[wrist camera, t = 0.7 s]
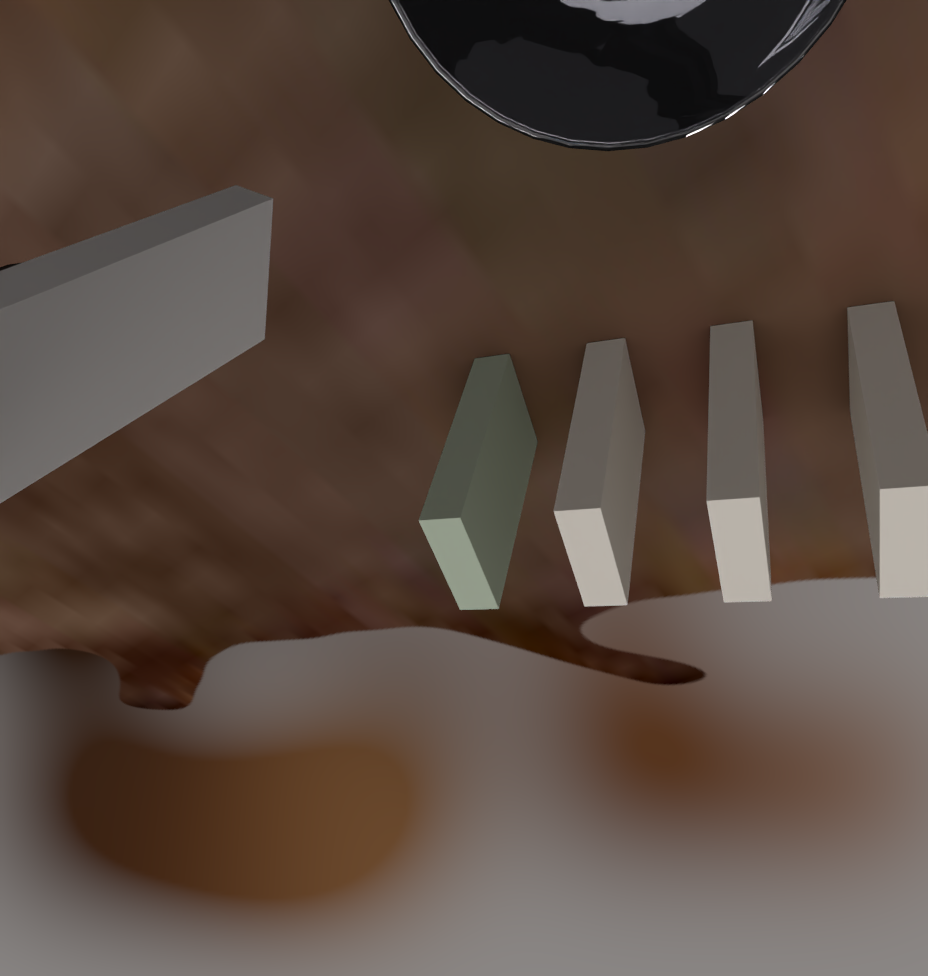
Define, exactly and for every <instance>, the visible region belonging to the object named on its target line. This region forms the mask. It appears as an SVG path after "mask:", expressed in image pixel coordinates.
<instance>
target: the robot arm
mask: <svg viewBox="0 0 928 976" xmlns="http://www.w3.org/2000/svg"><path fill="white" fill-rule="evenodd" d="M272 210H273V198H270V197H268V196H265V195H262V194H259V193H256V192H254V191H251V190H248V189H245V188H242V187H240V186H237V185H235V186H233V187H230V188H227V189H224V190H222V191H219V192H216V193H213V194H210V195H208V196H205V197H202V198H199V199H197V200H194V201H191V202H188V203H186V204H183V205H180V206H177V207H175V208H172V209H169V210H166V211H164V212H161V213H158V214H155V215H153V216H150V217H147V218H144V219H142V220H139V221H136V222H133V223H131V224H128V225H125V226H122V227H120V228H117V229H114V230H111V231H109V232H106V233H103V234H100V235H98V236H95V237H92V238H89V239H87V240H84V241H81V242H78V243H76V244H73V245H70V246H67V247H65V248H62V249H59V250H56V251H54V252H51V253H48V254H45V255H43V256H40V257H37V258H34V259H32V260H29V261H26V262H23V263H17V264H10V265H6V266H3V267H0V503H2V502H3V501H5V500H6V499H8V498H10V497H11V496H13V495H14V494H16V493H18V492H19V491H21V490H22V489H24V488H26V487H27V486H29V485H31V484H32V483H34V482H35V481H37V480H39V479H40V478H42V477H43V476H45V475H47V474H48V473H50V472H51V471H53V470H55V469H56V468H58V467H60V466H61V465H63V464H64V463H66V462H68V461H69V460H71V459H72V458H74V457H76V456H77V455H79V454H80V453H82V452H84V451H85V450H87V449H88V448H90V447H92V446H93V445H95V444H97V443H98V442H100V441H101V440H103V439H105V438H106V437H108V436H109V435H111V434H113V433H114V432H116V431H117V430H119V429H121V428H122V427H124V426H126V425H127V424H129V423H130V422H132V421H134V420H135V419H137V418H138V417H140V416H142V415H143V414H145V413H146V412H148V411H150V410H151V409H153V408H155V407H156V406H158V405H159V404H161V403H163V402H164V401H166V400H167V399H169V398H171V397H172V396H174V395H175V394H177V393H179V392H180V391H182V390H183V389H185V388H187V387H188V386H190V385H192V384H193V383H195V382H196V381H198V380H200V379H201V378H203V377H204V376H206V375H208V374H209V373H211V372H212V371H214V370H216V369H217V368H219V367H221V366H222V365H224V364H225V363H227V362H229V361H230V360H232V359H233V358H235V357H237V356H238V355H240V354H241V353H243V352H245V351H246V350H248V349H250V348H251V347H253V346H254V345H256V344H258V343H259V342H261V341H262V340H264V339H265V324H266V308H267V291H268V275H269V259H270V242H271V226H272Z"/></svg>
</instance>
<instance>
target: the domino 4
mask: <svg viewBox="0 0 928 976" xmlns="http://www.w3.org/2000/svg"><path fill="white" fill-rule="evenodd" d="M847 317H848V356H849V394H850V415H851V421H852V427H853V433H854V440H855V446H856V452H857V459H858V465H859V471H860V477H861V484H862V490H863V496H864V503H865V509H866V515H867V522H868V528H869V534H870V540H871V547H872V553H873V559H874V566H875V572H876V578H877V584H878V590H879V597H880V598H902V597H928V433H927V429H926V425H925V421H924V417H923V413H922V409H921V405H920V401H919V398H918V394H917V390H916V386H915V382H914V378H913V374H912V370H911V366H910V362H909V358H908V354H907V350H906V346H905V342H904V338H903V334H902V330H901V326H900V322H899V318H898V314H897V310H896V306H895V302H894V301H891V302H884V303H876V304H869V305H862V306H854V307H847Z"/></svg>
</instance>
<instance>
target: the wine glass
mask: <svg viewBox="0 0 928 976" xmlns="http://www.w3.org/2000/svg"><path fill="white" fill-rule="evenodd" d="M389 1H390V3H391V5H392V7H393V9H394V11H395V12H396V14H397V16H398V18H399V20H400V21H401V23H402V25H403V27H404V29H405V30H406V32H407V34H408V36H409V38H410V40H411V41H412V42H413V43H414V45H415V46H416V47H417V49H418V50H419V51H420V53H421V54H422V55H423V56H424V58H425V59H426V60H427V62H428V63H429V64H430V66H431V67H432V68H433V69H434V71H435V72H436V73H437V74H438V75H439V76H440V77H441V78H442V79H443V80H444V81H445V82H446V83H447V84H448V85H449V86H450V87H451V88H453V89H454V90H455V91H456V92H457V93H458V94H459V95H460V96H461V97H462V98H463V99H464V100H465V101H466V102H468V103H469V104H471V105H472V106H474V107H475V108H477V109H478V110H480V111H481V112H483V113H484V114H486V115H487V116H489V117H490V118H492V119H493V120H495V121H496V122H498V123H500V124H502V125H504V126H506V127H508V128H511V129H513V130H515V131H517V132H520V133H522V134H524V135H526V136H528V137H531V138H533V139H537V140H540V141H544V142H548V143H552V144H556V145H560V146H564V147H568V148H575V149H588V150H601V151H614V150H625V149H636V148H646V147H651V146H654V145H658V144H662V143H666V142H669V141H673V140H677V139H681V138H684V137H687V136H690V135H692V134H694V133H696V132H698V131H701V130H703V129H705V128H707V127H710V126H712V125H714V124H716V123H719V122H721V121H723V120H725V119H727V118H728V117H730V116H731V115H733V114H734V113H736V112H738V111H739V110H741V109H742V108H744V107H745V106H747V105H748V104H750V103H751V102H753V101H754V100H756V99H757V98H759V97H761V96H762V95H763V94H765V93H766V92H767V91H768V90H769V89H770V88H771V87H772V86H774V85H775V84H776V83H777V82H778V81H779V80H780V79H781V78H783V77H784V76H785V75H786V74H787V73H788V72H789V71H790V70H792V69H793V68H794V67H795V66H796V65H797V64H798V63H799V62H800V61H801V60H802V59H803V57H804V56H805V55H806V54H807V53H808V51H809V50H810V49H811V48H812V47H813V45H814V44H815V43H816V42H817V41H818V40H819V38H820V37H821V36H822V35H823V34H824V32H825V31H826V30H827V29H828V28H829V26H830V25H831V24H832V22H833V21H834V19H835V18H836V16H837V14H838V13H839V11H840V10H841V8H842V6H843V5H844V3H845V2H846V0H389Z"/></svg>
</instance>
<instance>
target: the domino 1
mask: <svg viewBox="0 0 928 976" xmlns="http://www.w3.org/2000/svg"><path fill="white" fill-rule="evenodd" d="M537 442H538V441H537V438H536V435H535V432H534V429H533V426H532V423H531V419H530V416H529V413H528V410H527V407H526V404H525V401H524V398H523V394H522V391H521V388H520V385H519V382H518V379H517V376H516V373H515V369H514V366H513V363H512V360H511V357H510V354H504V355H497V356H490V357H482V358H475V359H474V362H473V365H472V368H471V371H470V374H469V377H468V379H467V382H466V385H465V388H464V391H463V394H462V397H461V400H460V403H459V405H458V408H457V411H456V414H455V417H454V420H453V423H452V426H451V429H450V431H449V434H448V437H447V440H446V443H445V446H444V449H443V452H442V455H441V457H440V460H439V463H438V466H437V469H436V472H435V475H434V478H433V481H432V483H431V486H430V489H429V492H428V495H427V498H426V501H425V504H424V507H423V509H422V512H421V515H420V518H419V522H420V525H421V527H422V529H423V531H424V533H425V535H426V537H427V540H428V542H429V544H430V546H431V548H432V550H433V552H434V555H435V557H436V559H437V561H438V563H439V565H440V567H441V570H442V572H443V574H444V576H445V578H446V580H447V582H448V585H449V587H450V589H451V591H452V593H453V595H454V597H455V600H456V602H457V604H458V606H459V608H460V610H472V609H499V605H500V601H501V597H502V593H503V588H504V584H505V580H506V575H507V571H508V567H509V563H510V558H511V554H512V550H513V545H514V541H515V537H516V532H517V528H518V524H519V520H520V515H521V511H522V507H523V502H524V498H525V494H526V489H527V485H528V481H529V477H530V472H531V468H532V464H533V459H534V455H535V451H536V446H537Z"/></svg>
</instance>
